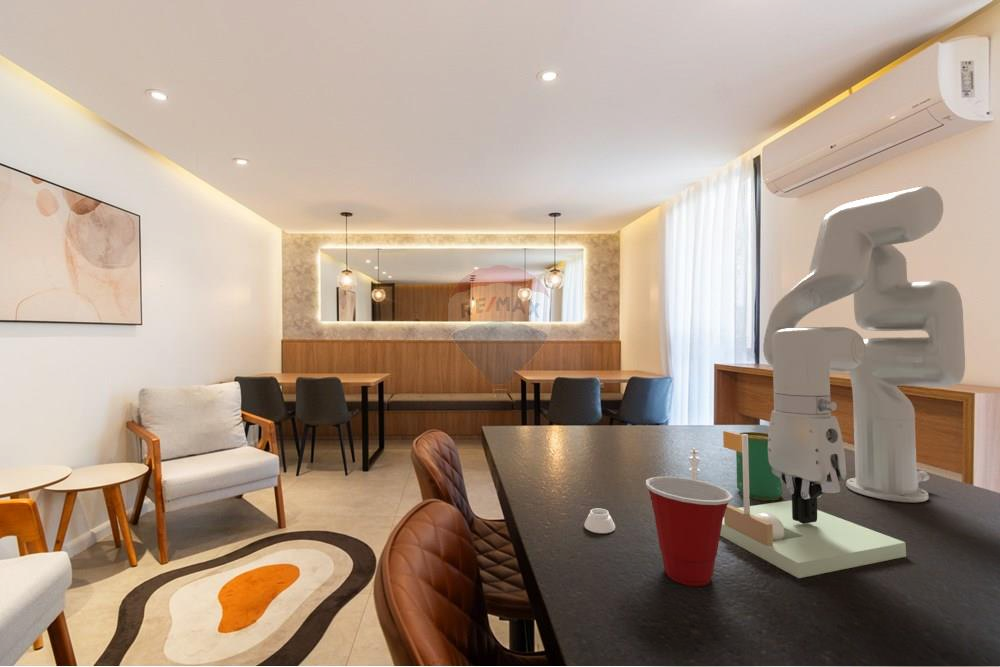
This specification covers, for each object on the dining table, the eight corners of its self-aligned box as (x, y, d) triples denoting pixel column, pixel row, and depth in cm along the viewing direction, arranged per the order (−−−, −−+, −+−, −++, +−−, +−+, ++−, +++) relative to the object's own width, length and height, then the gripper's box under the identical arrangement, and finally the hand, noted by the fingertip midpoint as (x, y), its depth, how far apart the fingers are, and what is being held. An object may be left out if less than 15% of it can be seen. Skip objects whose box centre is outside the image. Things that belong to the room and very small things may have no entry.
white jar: (587, 521, 78) (582, 533, 73) (587, 504, 78) (581, 515, 73) (616, 525, 76) (613, 537, 71) (616, 508, 76) (612, 519, 71)
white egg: (752, 543, 70) (770, 523, 71) (778, 557, 65) (797, 534, 66) (737, 522, 69) (755, 502, 70) (762, 534, 64) (781, 512, 66)
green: (791, 511, 81) (789, 418, 81) (906, 556, 63) (902, 437, 64) (700, 524, 75) (698, 424, 76) (798, 578, 58) (795, 448, 58)
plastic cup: (755, 589, 56) (752, 493, 56) (683, 604, 52) (680, 503, 53) (694, 550, 66) (692, 470, 66) (631, 561, 63) (629, 477, 63)
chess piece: (711, 503, 85) (710, 451, 85) (684, 502, 86) (683, 450, 86) (705, 495, 90) (704, 445, 90) (679, 493, 91) (678, 445, 91)
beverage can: (787, 503, 85) (786, 440, 85) (741, 498, 87) (739, 438, 88) (776, 490, 92) (775, 432, 93) (734, 486, 95) (732, 430, 95)
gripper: (868, 410, 64) (873, 537, 64) (778, 398, 79) (781, 502, 78) (829, 413, 62) (833, 544, 62) (744, 400, 77) (747, 507, 76)
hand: (804, 520), depth 70 cm, fingers closed
